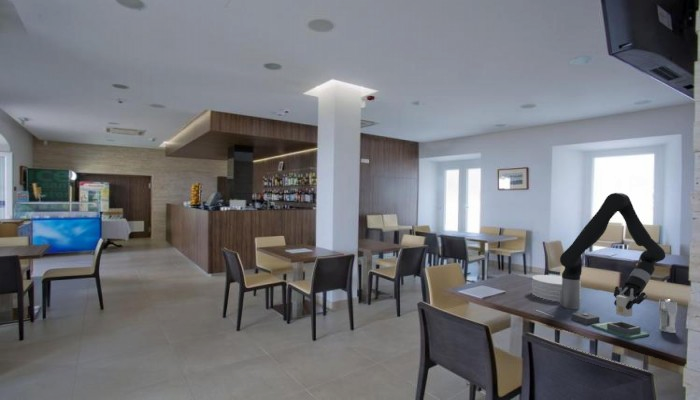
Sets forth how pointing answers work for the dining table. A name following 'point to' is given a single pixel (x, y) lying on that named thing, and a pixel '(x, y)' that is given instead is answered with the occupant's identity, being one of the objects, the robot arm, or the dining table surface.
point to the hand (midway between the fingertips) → (621, 306)
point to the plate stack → (547, 286)
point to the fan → (585, 318)
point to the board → (621, 329)
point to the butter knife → (544, 313)
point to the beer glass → (667, 315)
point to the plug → (623, 305)
